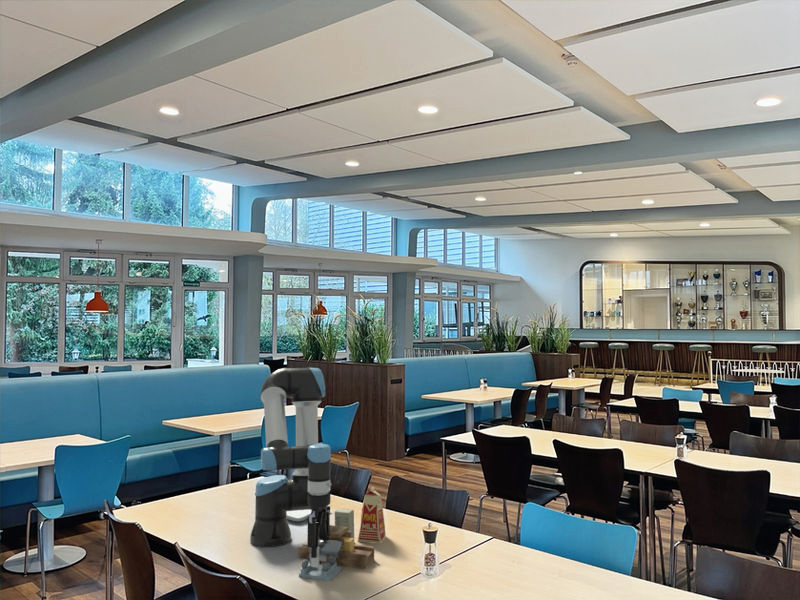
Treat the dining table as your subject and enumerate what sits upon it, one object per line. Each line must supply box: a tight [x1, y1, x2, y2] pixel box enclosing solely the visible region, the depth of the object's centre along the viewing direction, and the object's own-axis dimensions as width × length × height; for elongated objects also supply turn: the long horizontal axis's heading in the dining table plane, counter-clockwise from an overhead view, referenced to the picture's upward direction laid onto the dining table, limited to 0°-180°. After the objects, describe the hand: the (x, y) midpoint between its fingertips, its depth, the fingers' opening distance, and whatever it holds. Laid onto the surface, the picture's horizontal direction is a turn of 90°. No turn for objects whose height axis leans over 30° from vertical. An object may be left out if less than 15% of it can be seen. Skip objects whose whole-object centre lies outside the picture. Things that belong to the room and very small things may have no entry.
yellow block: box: [331, 537, 355, 552], centre depth 220 cm, size 7×4×4 cm, turn 73°
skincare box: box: [334, 508, 355, 539], centre depth 237 cm, size 6×4×12 cm
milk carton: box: [357, 486, 386, 545], centre depth 242 cm, size 9×9×20 cm
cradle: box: [298, 554, 342, 582], centre depth 209 cm, size 11×9×5 cm
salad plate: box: [286, 504, 331, 523], centre depth 272 cm, size 21×21×3 cm
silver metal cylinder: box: [308, 539, 343, 558], centre depth 208 cm, size 10×5×5 cm, turn 71°
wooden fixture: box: [298, 524, 375, 570], centre depth 221 cm, size 26×8×10 cm, turn 73°
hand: (318, 563), depth 209 cm, fingers closed on silver metal cylinder, 5 cm apart
